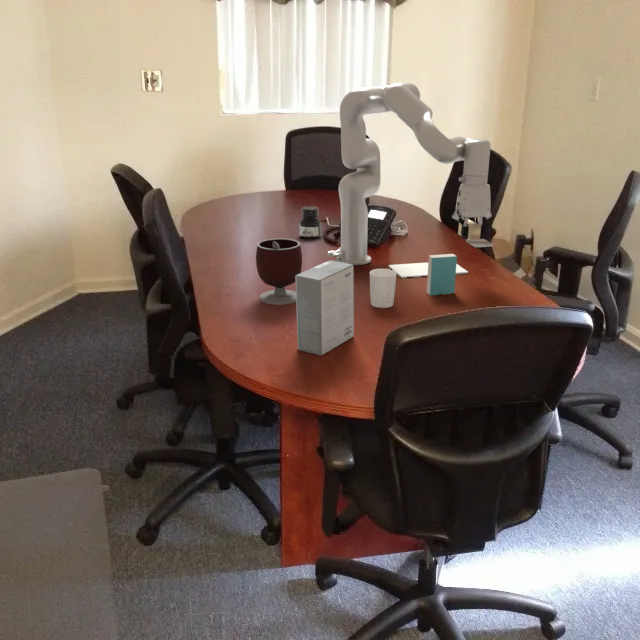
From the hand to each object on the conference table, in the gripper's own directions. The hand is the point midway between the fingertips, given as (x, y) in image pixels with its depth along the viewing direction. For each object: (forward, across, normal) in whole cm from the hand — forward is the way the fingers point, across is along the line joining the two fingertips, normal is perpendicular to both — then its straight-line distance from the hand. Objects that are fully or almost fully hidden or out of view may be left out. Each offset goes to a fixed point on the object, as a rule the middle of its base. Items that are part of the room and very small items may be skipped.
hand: (470, 237), depth 216 cm
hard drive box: (+15, -57, -40) cm, 71 cm away
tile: (+15, -13, -9) cm, 22 cm away
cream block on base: (0, 0, -2) cm, 2 cm away
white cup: (+15, -34, -15) cm, 40 cm away
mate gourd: (+15, -63, -3) cm, 65 cm away
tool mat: (+15, -8, +15) cm, 22 cm away
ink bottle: (+16, -38, +71) cm, 82 cm away
